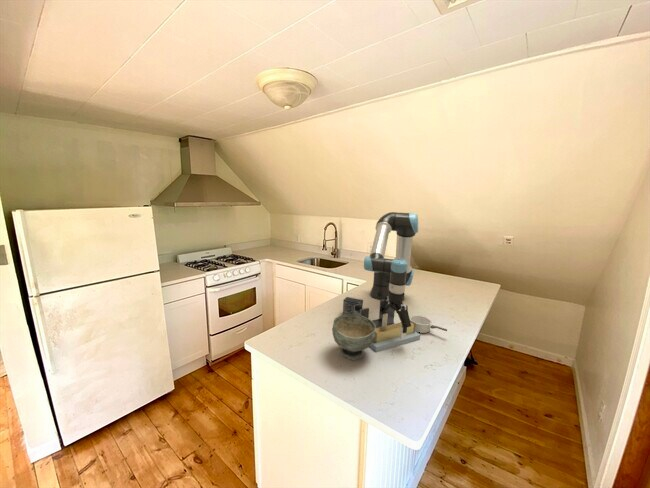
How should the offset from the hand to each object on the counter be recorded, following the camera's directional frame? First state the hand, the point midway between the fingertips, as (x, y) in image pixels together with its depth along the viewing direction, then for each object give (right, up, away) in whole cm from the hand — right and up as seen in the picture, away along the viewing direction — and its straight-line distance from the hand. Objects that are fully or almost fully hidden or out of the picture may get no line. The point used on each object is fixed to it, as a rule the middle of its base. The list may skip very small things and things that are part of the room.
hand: (393, 331), depth 136 cm
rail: (0, -2, 0) cm, 2 cm away
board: (0, -5, +1) cm, 5 cm away
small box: (-18, +1, +26) cm, 32 cm away
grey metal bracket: (-7, -1, +16) cm, 18 cm away
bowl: (-22, -6, -12) cm, 26 cm away
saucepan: (+21, -4, +11) cm, 24 cm away
